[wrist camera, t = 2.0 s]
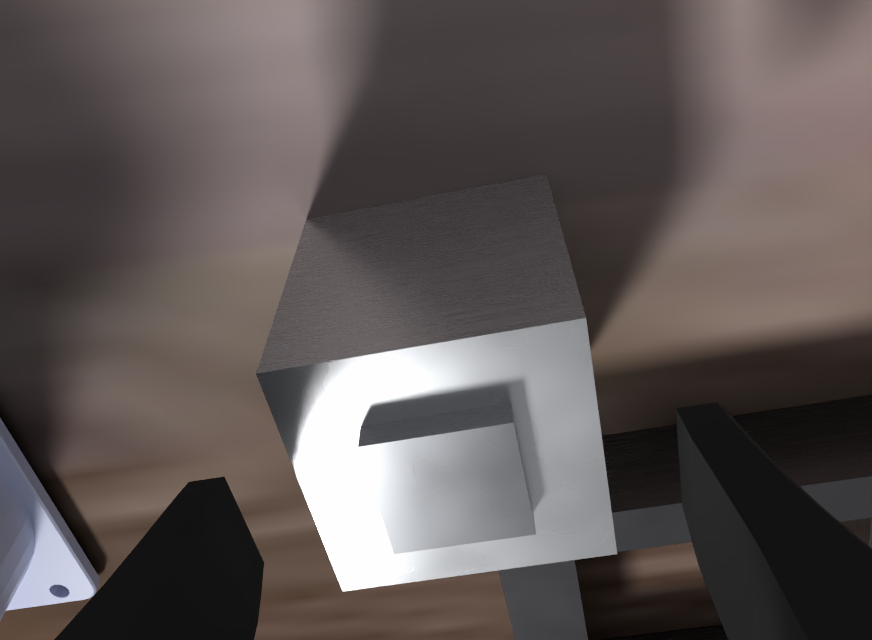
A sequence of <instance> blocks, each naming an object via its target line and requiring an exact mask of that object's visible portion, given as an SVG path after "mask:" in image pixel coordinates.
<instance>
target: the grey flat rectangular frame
mask: <svg viewBox="0 0 872 640" xmlns="http://www.w3.org/2000/svg"><path fill="white" fill-rule="evenodd" d="M733 418H734V419H735V421H736V422H737V423H738V424H739V425H740V426H741V427H742V428H743V429H744V431H745V432H746V433H747V434H748V435H749V436H750V437H751V438H752V439H753V440H754V441H755V442H756V443H757V445H758V446H759V447H760V448H761V449H762V450H763V451H764V452H765V453H766V454H767V455H768V456H769V457H770V458H771V459H772V460H773V461H774V462H775V463H776V464H777V465H778V466H779V467H780V468H781V469H782V470H783V471H784V472H785V473H786V474H787V475H788V476H789V477H791V478H792V479H793V480H794V481H795V482H796V483H797V484H798V485H799V486H800V487H801V488H802V489H803V490H804V491H806V492H807V493H808V494H809V495H810V496H811V497H812V498H813V499H814V500H815V501H816V502H817V503H819V504H820V505H821V506H822V507H823V508H824V509H825V510H826V511H828V512H829V513H830V514H831V515H832V516H833V517H834V518H836V519H837V520H838V521H839V522H840V523H842V524H843V525H844V526H845V527H846V528H848V529H849V530H850V531H851V532H852V533H854V534H855V535H856V536H857V537H858V538H860V539H861V540H862V541H863V542H865V543H866V544H867V545H868V546H870V547H871V548H872V396H866V397H860V398H853V399H846V400H840V401H833V402H827V403H820V404H813V405H807V406H800V407H794V408H787V409H781V410H774V411H767V412H761V413H754V414H748V415H741V416H734V417H733ZM602 442H603V449H604V457H605V465H606V472H607V480H608V487H609V495H610V502H611V510H612V518H613V525H614V533H615V540H616V548H617V552H621V551H628V550H636V549H643V548H651V547H658V546H665V545H673V544H680V543H687V542H692V540H691V536H690V532H689V529H688V525H687V521H686V518H685V514H684V510H683V506H682V495H681V480H680V465H679V450H678V435H677V425H675V426H669V427H662V428H655V429H649V430H642V431H636V432H629V433H623V434H616V435H609V436H603V437H602ZM499 574H500V578H501V583H502V587H503V591H504V595H505V599H506V603H507V607H508V611H509V615H510V620H511V624H512V628H513V632H514V636H515V640H588V636H587V630H586V624H585V618H584V613H583V607H582V601H581V595H580V589H579V583H578V577H577V572H576V566H575V560H571V561H563V562H556V563H548V564H541V565H534V566H526V567H519V568H512V569H504V570H499ZM611 640H728V638H727V635H726V633H725V630H724V628H723V626H715V627H707V628H699V629H691V630H683V631H675V632H667V633H659V634H651V635H643V636H635V637H627V638H619V639H611Z"/></svg>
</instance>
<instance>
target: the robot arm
mask: <svg viewBox="0 0 872 640" xmlns="http://www.w3.org/2000/svg"><path fill="white" fill-rule="evenodd" d="M676 420H677V435H678V450H679V465H680V480H681V495H682V506H683V510H684V514H685V518H686V521H687V525H688V529H689V532H690V536H691V540H692V543H693V547H694V550H695V554H696V557H697V561H698V565H699V567H700V570H701V573H702V575H703V578H704V580H705V583H706V585H707V588H708V590H709V593H710V595H711V598H712V600H713V603H714V605H715V608H716V610H717V613H718V615H719V618H720V620H721V623H722V625H723V628H724V630H725V633H726V635H727V638H728V640H872V548H871V547H870V546H868V545H867V544H866V543H865V542H863V541H862V540H861V539H860V538H858V537H857V536H856V535H855V534H854V533H852V532H851V531H850V530H849V529H848V528H846V527H845V526H844V525H843V524H842V523H840V522H839V521H838V520H837V519H836V518H834V517H833V516H832V515H831V514H830V513H829V512H828V511H826V510H825V509H824V508H823V507H822V506H821V505H820V504H819V503H817V502H816V501H815V500H814V499H813V498H812V497H811V496H810V495H809V494H808V493H807V492H806V491H804V490H803V489H802V488H801V487H800V486H799V485H798V484H797V483H796V482H795V481H794V480H793V479H792V478H791V477H789V476H788V475H787V474H786V473H785V472H784V471H783V470H782V469H781V468H780V467H779V466H778V465H777V464H776V463H775V462H774V461H773V460H772V459H771V458H770V457H769V456H768V455H767V454H766V453H765V452H764V451H763V450H762V449H761V448H760V447H759V446H758V445H757V443H756V442H755V441H754V440H753V439H752V438H751V437H750V436H749V435H748V434H747V433H746V432H745V431H744V429H743V428H742V427H741V426H740V425H739V424H738V423H737V422H736V421H735V419H734V418H733V417H732V416H731V415H730V414H729V412H728V411H727V410H726V409H725V408H724V407H723V406H721V405H720V404H718V403H717V402H716V403H710V404H703V405H696V406H690V407H683V408H676ZM263 568H264V562H263V559H262V557H261V555H260V553H259V551H258V549H257V546H256V544H255V542H254V540H253V538H252V536H251V533H250V531H249V529H248V527H247V525H246V523H245V520H244V518H243V516H242V514H241V512H240V510H239V507H238V505H237V503H236V501H235V499H234V497H233V494H232V492H231V490H230V488H229V486H228V483H227V481H226V479H225V477H219V478H212V479H206V480H199V481H193V482H189V483H188V484H187V485H186V486H185V487H184V488H183V489H182V491H181V492H180V493H179V494H178V495H177V496H176V498H175V499H174V500H173V501H172V503H171V504H170V505H169V506H168V507H167V509H166V510H165V511H164V512H163V514H162V515H161V516H160V517H159V518H158V520H157V521H156V522H155V523H154V525H153V526H152V527H151V528H150V530H149V531H148V532H147V533H146V535H145V536H144V537H143V538H142V540H141V541H140V542H139V543H138V544H137V546H136V547H135V548H134V549H133V550H132V552H131V553H130V554H129V555H128V556H127V558H126V559H125V560H124V561H123V562H122V564H121V565H120V566H119V567H118V568H117V570H116V571H115V572H114V573H113V575H112V576H111V577H110V578H109V579H108V581H107V582H106V583H105V584H104V585H103V586H102V587H101V589H100V590H99V591H98V592H97V593H96V591H97V589H98V586H99V583H100V579H99V576H98V574H97V573H96V571H95V569H94V568H93V566H92V565H91V563H90V561H89V560H88V558H87V557H86V555H85V553H84V552H83V550H82V548H81V547H80V545H79V544H78V542H77V540H76V539H75V537H74V536H73V534H72V532H71V531H70V529H69V528H68V526H67V524H66V523H65V521H64V519H63V518H62V516H61V515H60V513H59V511H58V510H57V508H56V507H55V505H54V503H53V502H52V500H51V499H50V497H49V495H48V494H47V492H46V491H45V489H44V487H43V486H42V484H41V482H40V481H39V479H38V478H37V476H36V474H35V473H34V471H33V470H32V468H31V466H30V465H29V463H28V462H27V460H26V458H25V457H24V455H23V454H22V452H21V450H20V449H19V447H18V445H17V444H16V442H15V441H14V439H13V437H12V436H11V434H10V433H9V431H8V429H7V428H6V426H5V425H4V423H3V421H2V420H1V418H0V620H1V618H2V617H3V615H4V613H5V611H6V610H13V609H20V608H28V607H35V606H42V605H49V604H56V603H63V602H71V601H78V600H85V599H88V598H91V597H92V596H93V595H94V596H93V597H92V599H91V600H90V601H89V602H88V603H87V604H86V605H85V606H84V607H83V609H82V610H81V611H80V612H79V613H78V614H77V615H76V616H75V617H74V619H73V620H72V621H71V622H70V623H69V624H68V625H67V626H66V627H65V629H64V630H63V631H62V632H61V633H60V634H59V635H58V636H57V637H56V638H55V639H54V640H254V637H255V632H256V628H257V623H258V616H259V607H260V599H261V590H262V579H263ZM95 593H96V594H95Z"/></svg>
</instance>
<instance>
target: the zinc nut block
mask: <svg viewBox="0 0 872 640" xmlns="http://www.w3.org/2000/svg"><path fill="white" fill-rule="evenodd" d="M256 375H257V377H258V380H259V382H260V385H261V387H262V390H263V392H264V395H265V397H266V400H267V403H268V405H269V408H270V410H271V413H272V415H273V418H274V420H275V423H276V425H277V428H278V430H279V433H280V435H281V438H282V440H283V443H284V445H285V448H286V450H287V453H288V455H289V458H290V460H291V463H292V465H293V468H294V470H295V473H296V475H297V478H298V480H299V483H300V485H301V488H302V490H303V493H304V496H305V498H306V501H307V503H308V506H309V508H310V511H311V513H312V516H313V518H314V521H315V523H316V526H317V528H318V531H319V533H320V536H321V538H322V541H323V543H324V546H325V548H326V551H327V553H328V556H329V558H330V561H331V563H332V566H333V568H334V571H335V573H336V576H337V578H338V581H339V583H340V586H341V588H342V591H349V590H357V589H364V588H372V587H379V586H386V585H394V584H401V583H408V582H416V581H423V580H431V579H438V578H445V577H453V576H460V575H467V574H475V573H482V572H490V571H497V570H504V569H512V568H519V567H526V566H534V565H541V564H548V563H556V562H563V561H571V560H578V559H585V558H593V557H600V556H607V555H615V554H617V548H616V540H615V533H614V525H613V518H612V510H611V502H610V495H609V487H608V480H607V472H606V465H605V457H604V449H603V442H602V434H601V427H600V419H599V412H598V404H597V396H596V389H595V381H594V374H593V366H592V359H591V351H590V343H589V336H588V328H587V321H586V316H585V312H584V308H583V305H582V301H581V297H580V294H579V290H578V287H577V283H576V279H575V276H574V272H573V268H572V265H571V261H570V257H569V254H568V250H567V247H566V243H565V239H564V236H563V232H562V228H561V225H560V221H559V217H558V214H557V210H556V207H555V203H554V199H553V196H552V192H551V188H550V185H549V181H548V177H547V174H542V175H537V176H532V177H526V178H521V179H516V180H511V181H505V182H500V183H495V184H490V185H484V186H479V187H474V188H469V189H463V190H458V191H453V192H448V193H442V194H437V195H432V196H427V197H421V198H416V199H411V200H406V201H400V202H395V203H390V204H385V205H379V206H374V207H369V208H364V209H358V210H353V211H348V212H343V213H337V214H332V215H327V216H322V217H316V218H311V219H306V222H305V225H304V228H303V231H302V234H301V237H300V240H299V243H298V246H297V249H296V253H295V256H294V259H293V262H292V265H291V268H290V271H289V274H288V277H287V280H286V283H285V286H284V289H283V292H282V296H281V299H280V302H279V305H278V308H277V311H276V314H275V317H274V320H273V323H272V326H271V329H270V332H269V335H268V339H267V342H266V345H265V348H264V351H263V354H262V357H261V360H260V363H259V366H258V369H257V372H256Z"/></svg>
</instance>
